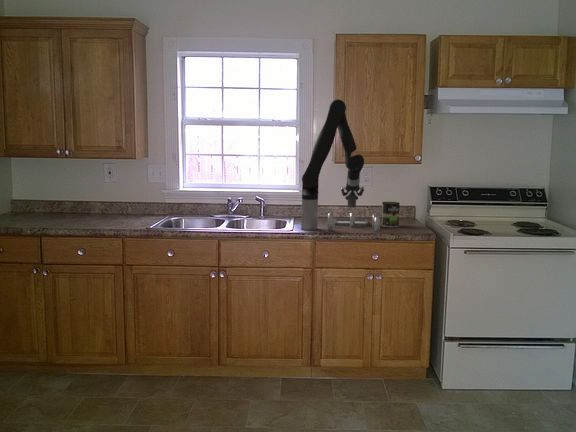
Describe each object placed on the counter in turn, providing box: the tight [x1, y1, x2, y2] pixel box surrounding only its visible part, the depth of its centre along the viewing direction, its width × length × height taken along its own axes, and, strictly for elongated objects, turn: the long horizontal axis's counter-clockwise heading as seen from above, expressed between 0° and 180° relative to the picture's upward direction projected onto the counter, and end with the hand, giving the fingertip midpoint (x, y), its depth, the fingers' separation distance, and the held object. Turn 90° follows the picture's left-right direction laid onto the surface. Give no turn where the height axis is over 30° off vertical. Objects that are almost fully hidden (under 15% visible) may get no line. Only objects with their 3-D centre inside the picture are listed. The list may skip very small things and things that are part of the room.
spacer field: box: [327, 212, 381, 233], centre depth 315 cm, size 29×18×8 cm, turn 87°
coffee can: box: [381, 201, 400, 228], centre depth 327 cm, size 10×10×14 cm
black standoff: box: [347, 193, 357, 208], centre depth 332 cm, size 5×5×10 cm
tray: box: [333, 218, 370, 227], centre depth 335 cm, size 20×18×2 cm
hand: (351, 198), depth 334 cm, fingers closed on black standoff, 5 cm apart
